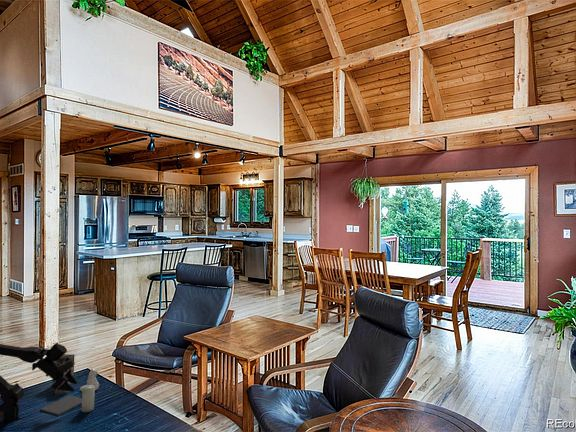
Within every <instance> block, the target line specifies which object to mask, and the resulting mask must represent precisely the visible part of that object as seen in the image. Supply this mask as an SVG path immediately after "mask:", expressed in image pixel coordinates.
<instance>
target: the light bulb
mask: <svg viewBox="0 0 576 432" xmlns="http://www.w3.org/2000/svg"><path fill="white" fill-rule="evenodd" d="M86 385H87V384H86ZM83 386H84V387H83V388H82V391H81V398H82V404H81V412H83V413H90V412H92V411H94V409H95V386H94V385H87V386H85V385H83Z"/></svg>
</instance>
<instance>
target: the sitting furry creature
mask: <svg viewBox="0 0 576 432" xmlns="http://www.w3.org/2000/svg"><path fill="white" fill-rule="evenodd" d="M98 373H99V372H98V370H97V369H95V368H91V369H90V371H89V373H88V378H87V380H86V385H82V386H81V387H80V388H79V391H80V392H82V388H83V387H84V386H87V385H94V386H95V391H97V390H98V389H99V387H100V383H99V381H98V379H97V377H96V376H97V375H98Z"/></svg>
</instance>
